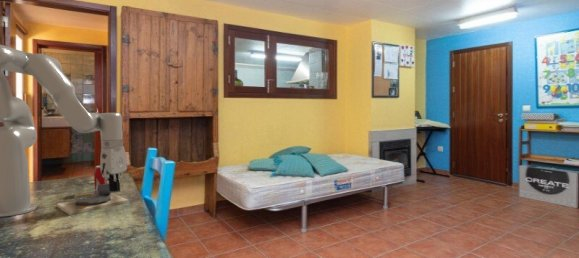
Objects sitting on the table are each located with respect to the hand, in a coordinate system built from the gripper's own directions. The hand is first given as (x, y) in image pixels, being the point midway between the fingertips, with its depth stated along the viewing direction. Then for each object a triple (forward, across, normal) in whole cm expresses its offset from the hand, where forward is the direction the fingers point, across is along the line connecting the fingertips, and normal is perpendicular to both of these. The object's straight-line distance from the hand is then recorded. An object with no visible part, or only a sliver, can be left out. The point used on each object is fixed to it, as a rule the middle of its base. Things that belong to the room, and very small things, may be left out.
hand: (114, 190), depth 129 cm
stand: (+5, -2, +8) cm, 9 cm away
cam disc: (+4, -1, +7) cm, 8 cm away
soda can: (+5, +16, +17) cm, 24 cm away
